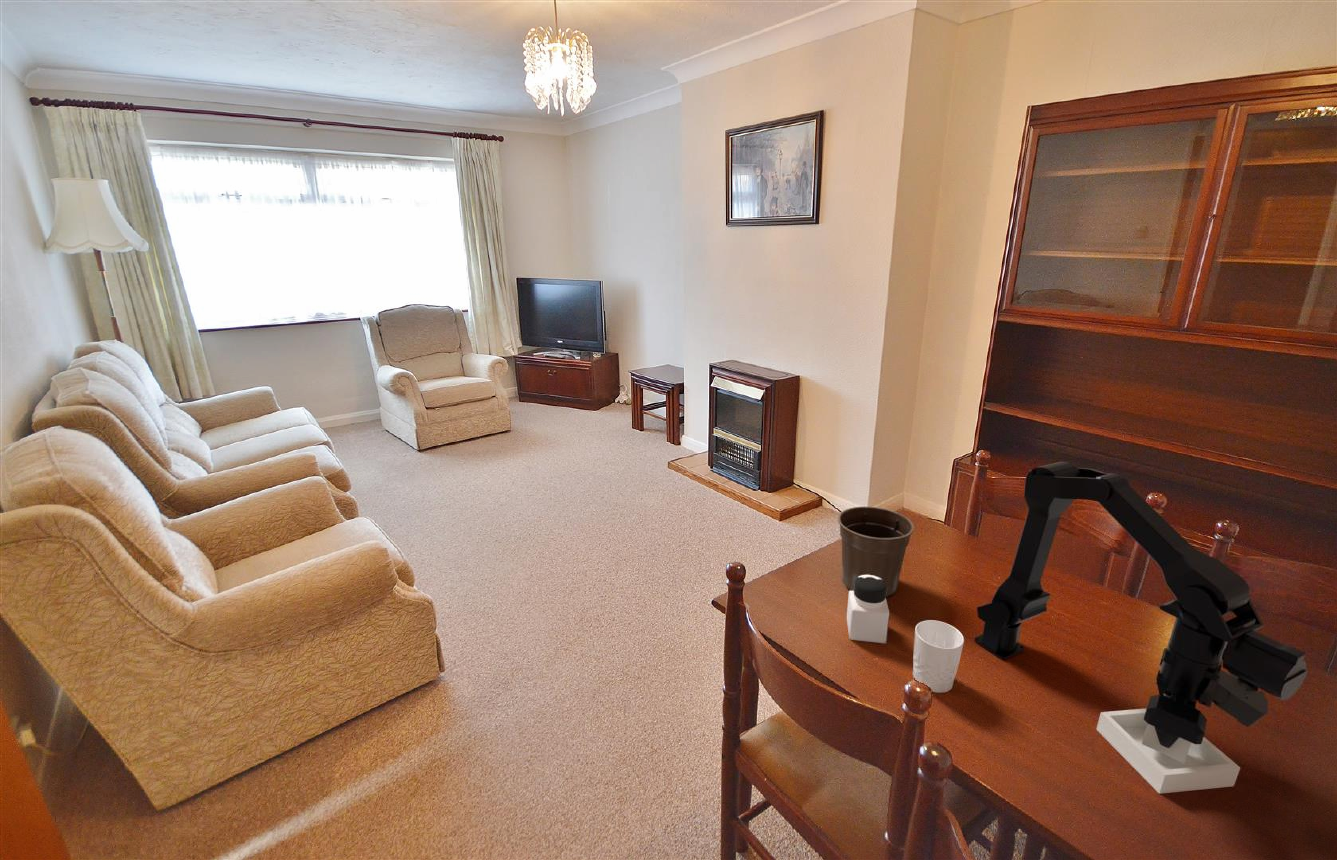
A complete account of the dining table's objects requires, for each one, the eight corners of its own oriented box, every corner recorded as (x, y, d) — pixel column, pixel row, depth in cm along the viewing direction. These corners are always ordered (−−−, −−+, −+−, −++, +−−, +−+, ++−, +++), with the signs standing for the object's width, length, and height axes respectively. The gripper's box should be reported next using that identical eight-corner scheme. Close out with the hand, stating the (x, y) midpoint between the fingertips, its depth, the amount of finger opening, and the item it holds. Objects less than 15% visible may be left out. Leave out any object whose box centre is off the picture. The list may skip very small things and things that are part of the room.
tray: (1233, 786, 85) (1240, 767, 84) (1159, 793, 84) (1165, 775, 83) (1162, 723, 96) (1168, 706, 95) (1096, 729, 95) (1100, 712, 94)
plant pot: (847, 558, 147) (852, 499, 142) (914, 577, 138) (922, 516, 133) (822, 588, 134) (827, 526, 129) (894, 612, 125) (902, 546, 120)
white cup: (953, 670, 108) (961, 624, 105) (959, 700, 101) (966, 652, 98) (908, 661, 111) (914, 616, 108) (910, 690, 104) (916, 643, 101)
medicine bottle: (886, 644, 116) (892, 592, 112) (849, 640, 117) (854, 588, 113) (881, 622, 122) (887, 572, 118) (846, 618, 124) (850, 569, 120)
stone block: (1184, 763, 86) (1195, 731, 84) (1141, 744, 89) (1151, 713, 87) (1188, 743, 89) (1198, 712, 87) (1147, 725, 92) (1156, 695, 90)
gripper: (1271, 718, 72) (1235, 811, 77) (1274, 645, 84) (1243, 730, 89) (1157, 673, 80) (1130, 761, 84) (1174, 613, 92) (1151, 692, 97)
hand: (1167, 735), depth 89 cm, fingers closed on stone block, 5 cm apart
